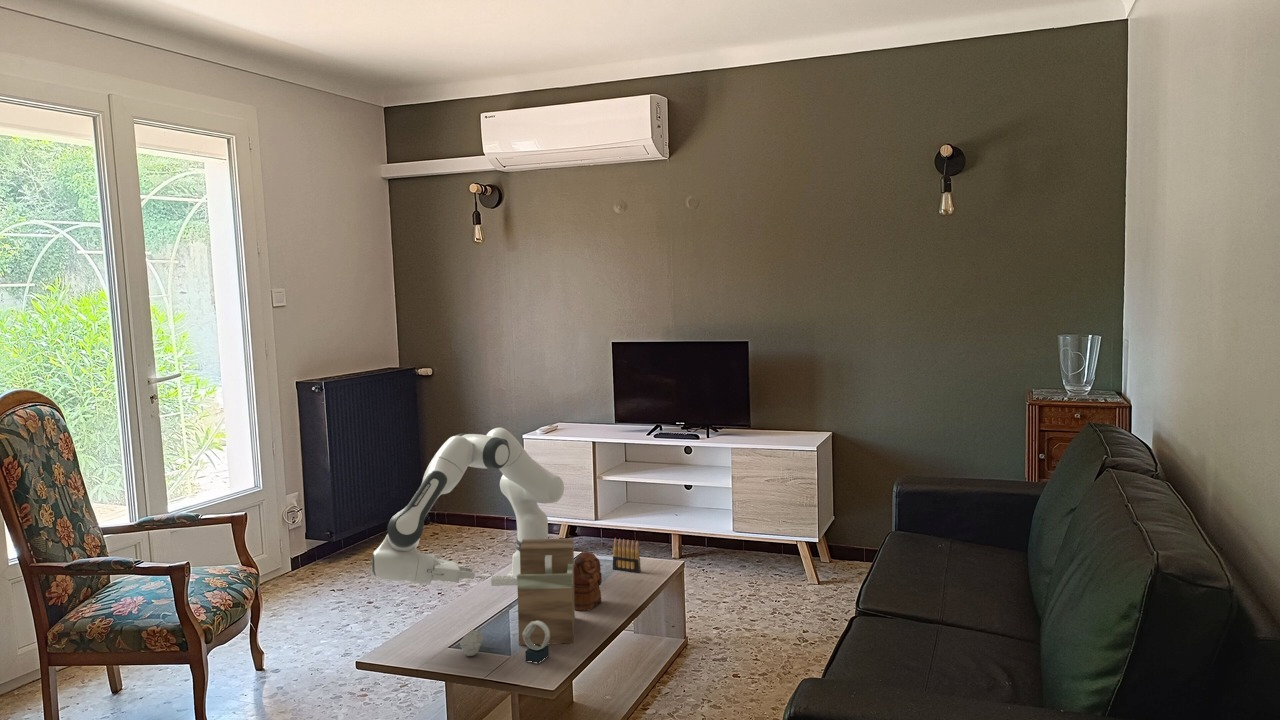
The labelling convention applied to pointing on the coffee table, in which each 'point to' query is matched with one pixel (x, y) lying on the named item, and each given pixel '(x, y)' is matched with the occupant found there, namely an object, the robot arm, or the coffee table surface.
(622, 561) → the ammunition clip
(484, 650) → the coffee table surface
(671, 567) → the coffee table surface
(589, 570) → the wooden figurine
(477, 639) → the white rough round lump
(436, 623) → the coffee table surface
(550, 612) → the stepped shelf
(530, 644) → the watch
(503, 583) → the aluminium bracket
